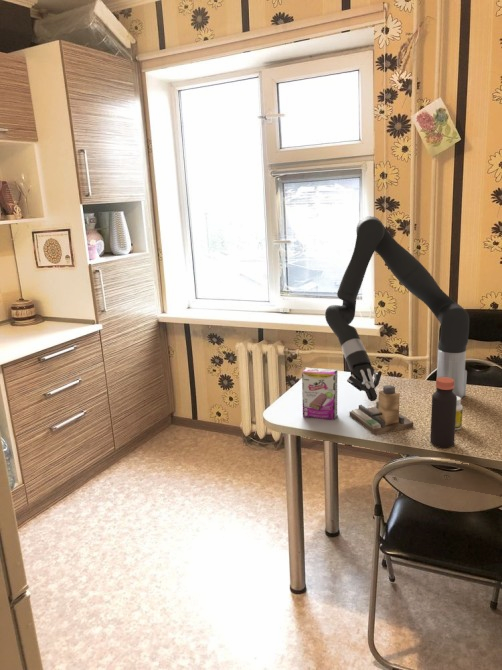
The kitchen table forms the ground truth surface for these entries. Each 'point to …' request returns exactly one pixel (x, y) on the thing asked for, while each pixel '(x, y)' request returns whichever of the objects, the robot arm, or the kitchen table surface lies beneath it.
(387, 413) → the block
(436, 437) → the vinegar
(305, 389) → the candy bar box
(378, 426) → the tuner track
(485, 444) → the kitchen table surface
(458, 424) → the supplement bottle
